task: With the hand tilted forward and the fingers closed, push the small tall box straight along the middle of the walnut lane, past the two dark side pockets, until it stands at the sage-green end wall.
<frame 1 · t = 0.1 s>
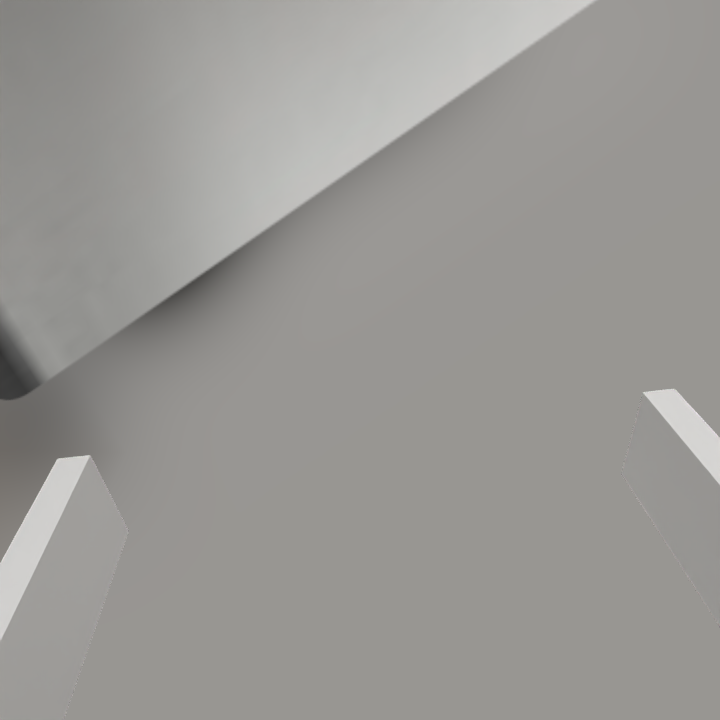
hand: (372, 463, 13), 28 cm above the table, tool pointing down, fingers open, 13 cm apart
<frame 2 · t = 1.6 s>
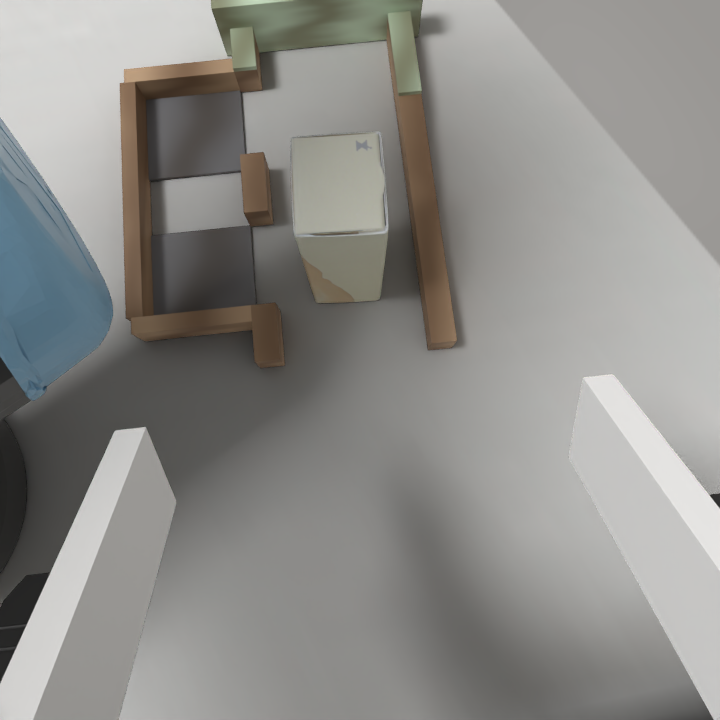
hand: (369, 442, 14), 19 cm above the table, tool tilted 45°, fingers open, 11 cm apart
lane: (337, 182, 36), on the table
box: (346, 268, 35), resting in lane
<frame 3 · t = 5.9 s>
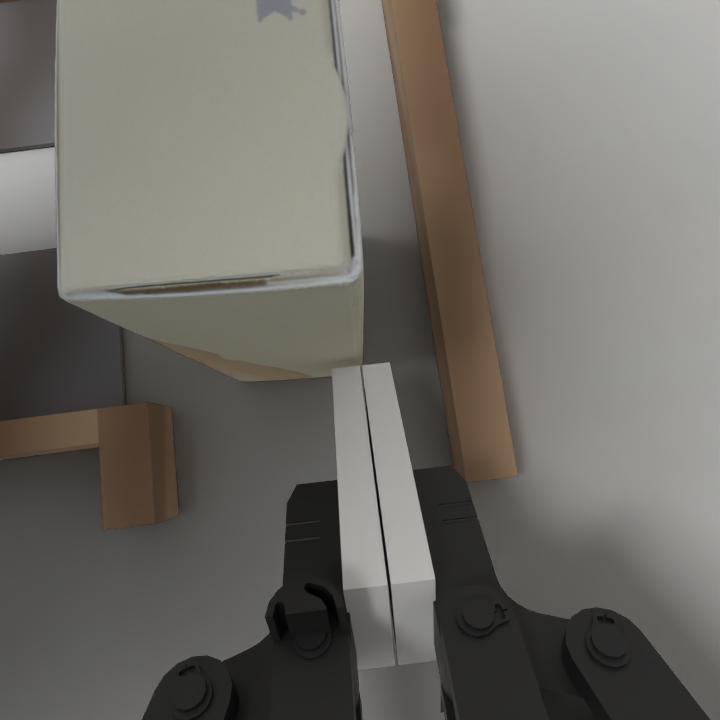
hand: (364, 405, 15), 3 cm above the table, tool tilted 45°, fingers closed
lane: (279, 156, 19), on the table
box: (298, 311, 19), resting in lane, touching gripper
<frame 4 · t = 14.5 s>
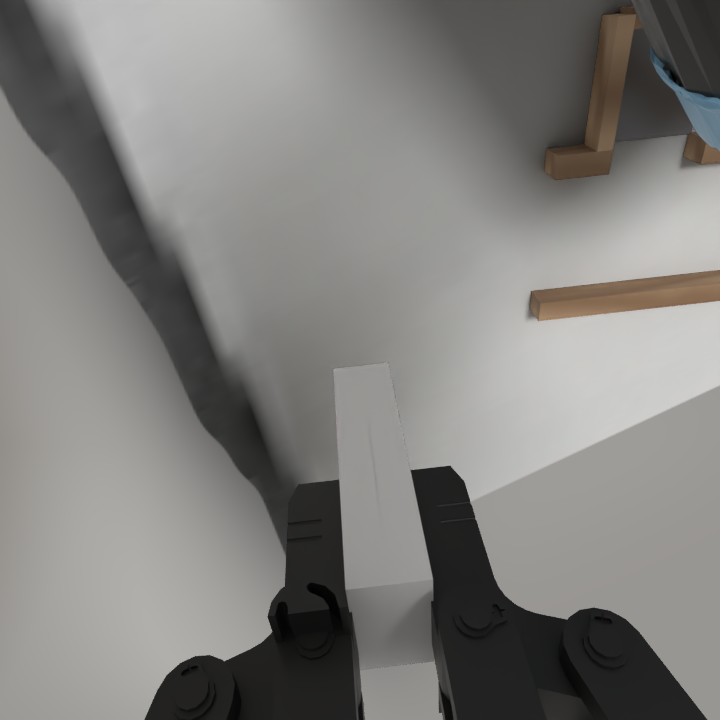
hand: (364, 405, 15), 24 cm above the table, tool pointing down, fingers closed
lane: (701, 217, 39), on the table
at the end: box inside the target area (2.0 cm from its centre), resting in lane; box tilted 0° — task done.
